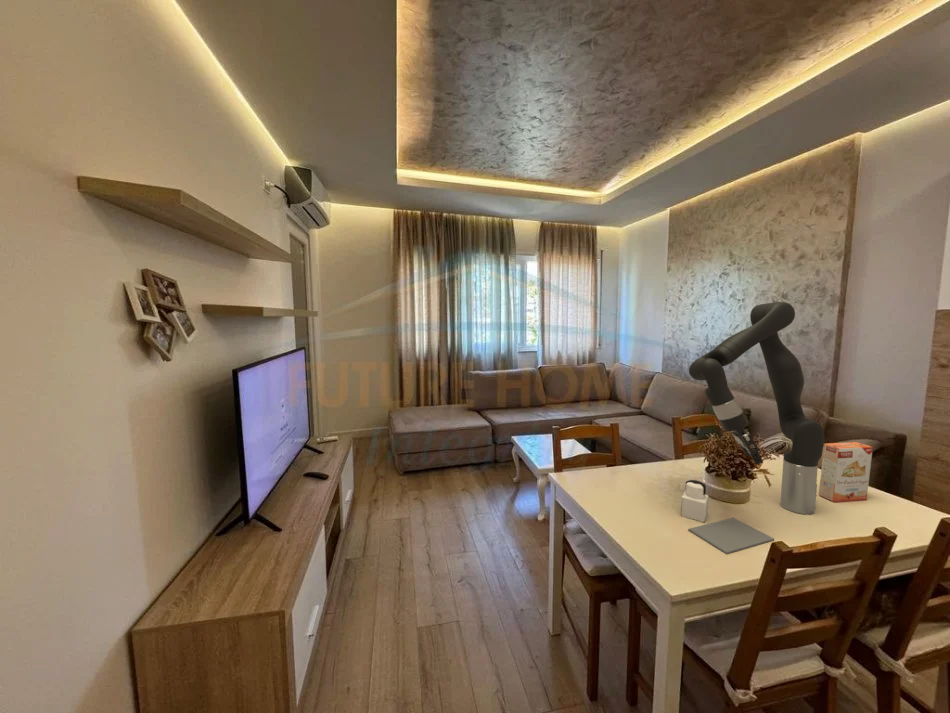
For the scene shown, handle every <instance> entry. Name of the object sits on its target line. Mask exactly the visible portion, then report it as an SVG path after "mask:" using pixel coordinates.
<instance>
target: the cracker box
mask: <svg viewBox="0 0 950 713" xmlns="http://www.w3.org/2000/svg"><path fill="white" fill-rule="evenodd" d="M873 448H874V447H873V446H871V445H867V444H864V443H861V442H856V441H853V442H852V441H851V442H829V443H824V445H823V452H822V462H821V470H820V478H819V479H820V482H819V492H818V496H820V497H822V498H824V499H826V500H828V501H830V502H833V503H837V502H838V503H839V502H841V503H842V502H855V501H867V498H868V492H869V482H870V474H871V473H870V472H871V466H872V457H873Z"/></svg>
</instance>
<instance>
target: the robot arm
mask: <svg viewBox="0 0 950 713" xmlns="http://www.w3.org/2000/svg"><path fill="white" fill-rule="evenodd" d="M795 316H796V310H795V308H794V306H793V305H792V304H790V303H788V302H785V301H773V302H767V303H761V304H756V305H754V307H753V308H752V309H751V311H750V316H749V317H750V322H751V325H750V326H748V327H747V328H745V329H743V330H741V331H737V332H736V333H734V334H732V335H730V336H729V337H727V338H726V339H724V340H723V341H722V342H720V343H719V344H718V345H717V346H715V347H714V348H713V349H712V350H710V351H709V352H706V353H705V354H704V355H702V356H700V357H699V358H696V359H695V360H694V361H692V363H691V364H690V366H689V368H688V373H689V376H690V377H691V378H692V379H694V380H696V381H701V382H702V381H706V384H707V387H706V388H705V390H704V393H705V395H706V398H707V400H708V401H709V403H710V405H711V407H712V409H713V413H715V416H716V418H717V419H718V421H719V423H720V425H721V427H722V428H723V430H724V431H725V432H731V434H732V436H733V437H734V439H735V441H736V443H738V445H739V446H740V447H741V449H742V451H743V453H744V454H745V456H747V457H751V459H752V461H753V462H754V464H756V465H760V464H762V463H764V460H763V458H762V457H761V456H760V455H761V454H760V453H759V452H760V449H759V448H758V445H757V444H756V441H754V438H753V437H752V435H751V433H750V432H749V431H748V430H746V429H745V427H748V426H749V424H750V421H749V419H748V418H747V416H746V413H744V411H743V409H742V407H741V405H740V404H739V402H738V401H737V400H736V398H735V396H734V395H733V393H732V390H730V388H729V386H728V385H729V384H728V380H727V376H726V372H725V369H724V367H725V366H728V365H731V364H732V363H734V362H735V361H736V360H738V359H739V358H740V357H741V356H743V355H744V354H745V353H746V352H747V351H749V350H750V349H752V348H753V347H755V346H757V345H758V344H759V346H760V349H761V352H762V355H763V356H762V357H763V359H764V362H765V365H766V370H767V375H768V378H769V381H770V385H771V387H772V388H771V389H772V391H773V392H772V393H773V395H774V399H775V401H776V407H777V413H778V421H779V427H780V431H781V433H782V434H783V435H784V436H785V438H787V439H789V440H790V441H792V445H791V449H787V450H785V451H784V453H783V459H782V460H783V463H782V473H781V474H782V476H781V491H780V506H781V507H783V509H785V510H788V511H790V512H791V513H792V512H793V513H796V514H801V515H813V514H814V513H815V510H816V507H817V506H816V505H817V491H818V484H817V482H818V468H819V461H820V460H821V458H822V457H823V448H824V444H825V430H824V427H823V426H822V424H821V423H819V422H817V421H815V420H813V419H810V418H808V417H807V416H806V415H805V413H804V411H803V407H802V403H801V402H802V401H801V396H802V392H803V389H804V386H805V378H804V373H803V369H802V366H801V363H800V360H799V359H798V358H797V357H796V355H794V353H792V351H791V350H790V349H789V348H788V347H787V346H786V345H785V344H784V342H782V340H781V338H780V336H779V333H778V332H780V331H782V330H784V329H785V328H787V327H788V326H790V325H791V324H792V323H793V321H794V320H795V319H796V318H795ZM751 447H752V448H751Z"/></svg>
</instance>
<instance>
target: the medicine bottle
mask: <svg viewBox="0 0 950 713" xmlns="http://www.w3.org/2000/svg"><path fill="white" fill-rule="evenodd" d="M706 491H707V486H706V484H705V483H703V482H702V481H699V480H696V479H689V480H686V481H685V489H684V492H683V494H682V496H681V507H680V508H681V511H680V515H681V517H683V518H686V519H691V520H695V521H698V522H700V523H701V522H702V523H705V522H706V520H707V518H708V517H707V516H708V513H709V494H706V493H707V492H706Z"/></svg>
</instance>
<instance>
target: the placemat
mask: <svg viewBox="0 0 950 713" xmlns="http://www.w3.org/2000/svg"><path fill="white" fill-rule="evenodd" d="M688 532H689V533H692V534H693V535H695V536H696V537H697V538H700V539H701V540H702V541H704V542H706V543H707V544H709V545H711V546H713V547H714V548H715V549H717V550H719V551H720V552H722V553H724V554H725V555H730V554H733V553H737V552H740V551H742V550H743V551H744V550H747V549H750V548H752V547H753V548H754V547H757V546H759V545H763V544H767V543H771V542H773V541H775V538H774V537H772V536H771V535H768V534H766V533H764V532H763V531H760V530H758V529H757V528H754V527H753V526H751V525H749V524H747V523H745V522H743V521H741V520H739V519H737V518H735V517H730V518H726V519H722V520H718V521H714V522H710V523H706V524H702V525H699V526H693V527H690V528H688ZM772 540H773V541H772ZM769 541H770V542H769Z"/></svg>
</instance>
